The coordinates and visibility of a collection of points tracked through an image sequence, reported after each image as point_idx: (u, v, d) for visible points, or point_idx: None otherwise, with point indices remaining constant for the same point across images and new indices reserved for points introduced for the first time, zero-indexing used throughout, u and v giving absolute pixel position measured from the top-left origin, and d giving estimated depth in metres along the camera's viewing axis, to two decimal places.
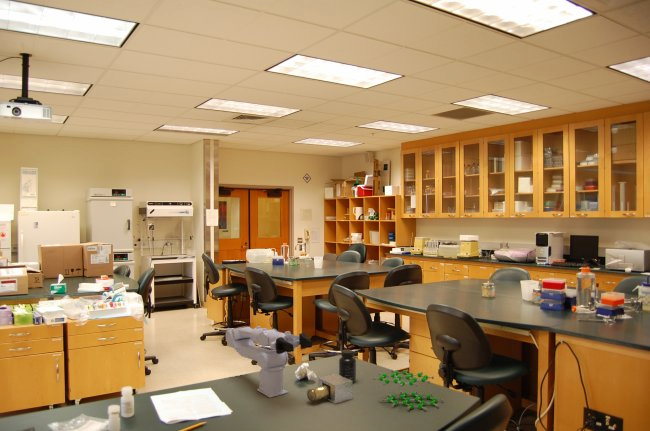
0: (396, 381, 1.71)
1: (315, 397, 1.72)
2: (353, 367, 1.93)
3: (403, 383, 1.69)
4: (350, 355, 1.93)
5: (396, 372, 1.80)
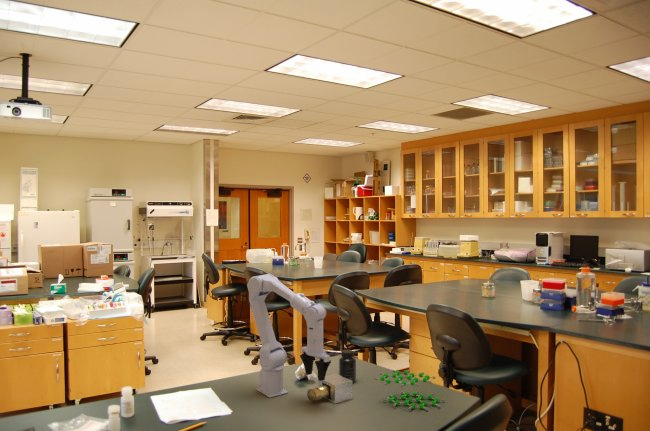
0: (397, 381, 1.71)
1: (315, 397, 1.72)
2: (353, 367, 1.93)
3: (404, 383, 1.69)
4: (350, 355, 1.93)
5: (397, 372, 1.80)
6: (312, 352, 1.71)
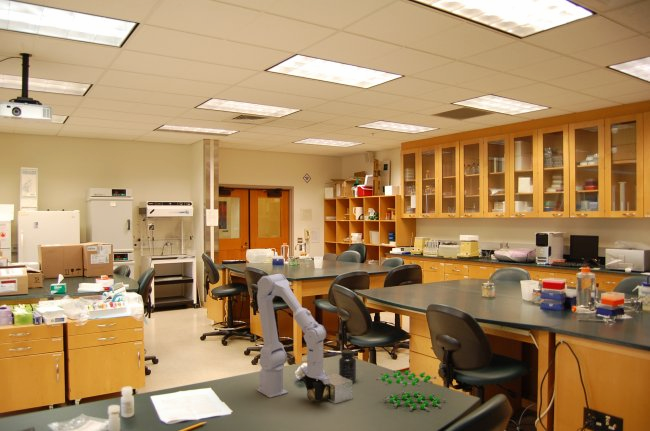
0: (398, 381, 1.71)
1: None
2: (353, 367, 1.93)
3: (406, 383, 1.69)
4: (350, 355, 1.93)
5: (398, 372, 1.80)
6: (312, 374, 1.71)
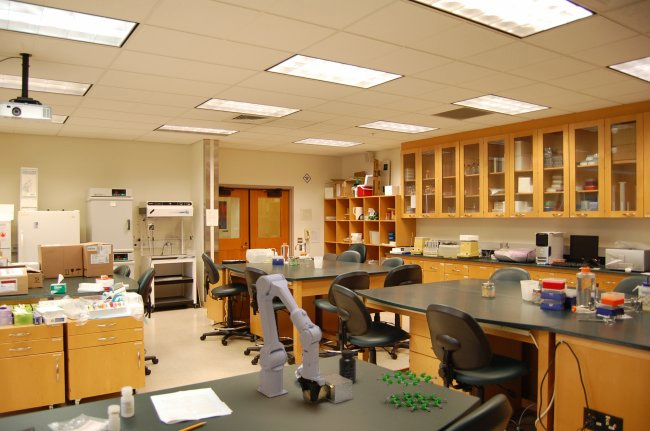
0: (399, 381, 1.71)
1: None
2: (353, 367, 1.93)
3: (406, 383, 1.68)
4: (350, 355, 1.93)
5: (399, 372, 1.79)
6: (308, 375, 1.70)
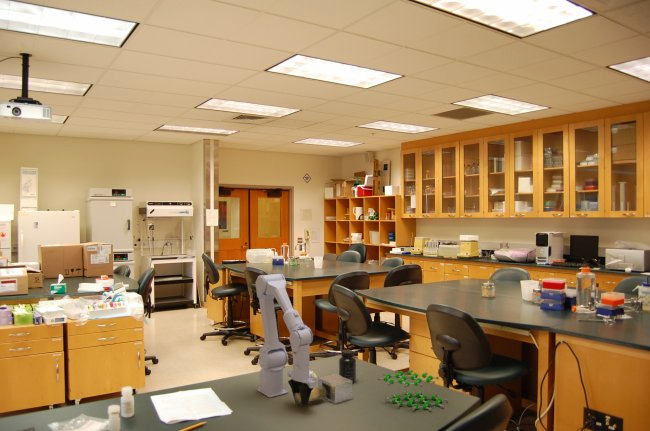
0: (401, 381, 1.71)
1: None
2: (353, 367, 1.93)
3: (408, 383, 1.68)
4: (350, 355, 1.93)
5: (400, 372, 1.79)
6: (298, 378, 1.68)
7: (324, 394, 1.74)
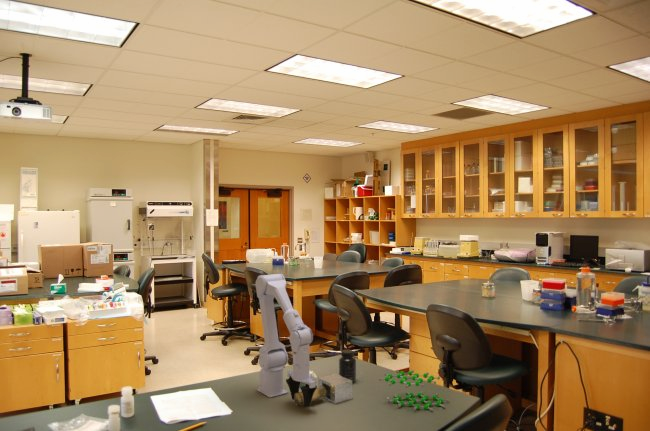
0: (402, 382, 1.71)
1: (302, 401, 1.68)
2: (353, 367, 1.93)
3: (409, 384, 1.68)
4: (350, 355, 1.93)
5: (402, 372, 1.79)
6: (298, 378, 1.68)
7: (324, 394, 1.74)
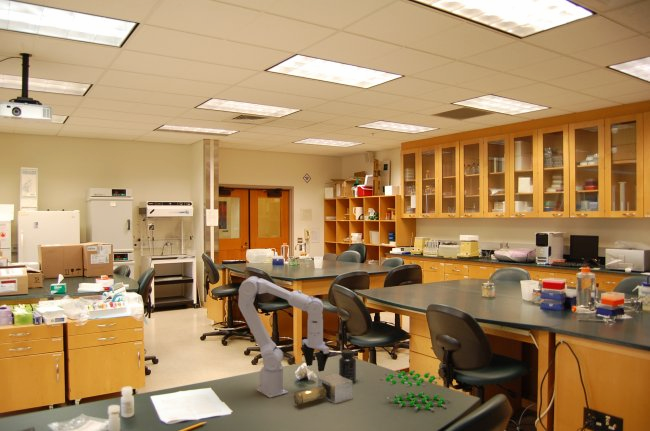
0: (403, 382, 1.71)
1: (302, 401, 1.68)
2: (353, 367, 1.93)
3: (410, 384, 1.68)
4: (350, 355, 1.93)
5: (403, 373, 1.79)
6: (313, 345, 1.80)
7: (324, 394, 1.74)
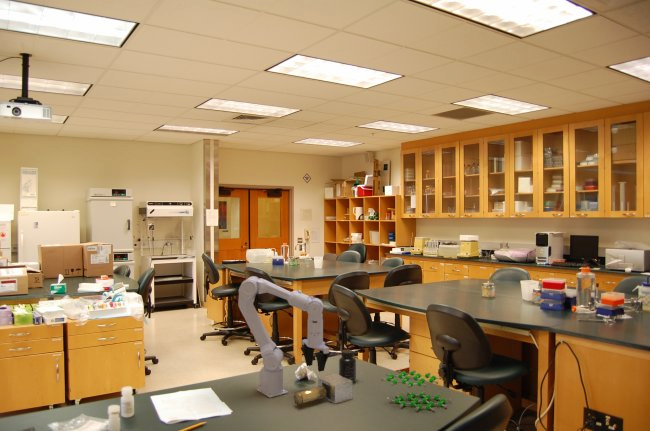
0: (404, 382, 1.71)
1: (302, 401, 1.68)
2: (353, 367, 1.93)
3: (411, 384, 1.68)
4: (350, 355, 1.93)
5: (403, 373, 1.79)
6: (313, 345, 1.80)
7: (324, 394, 1.74)
